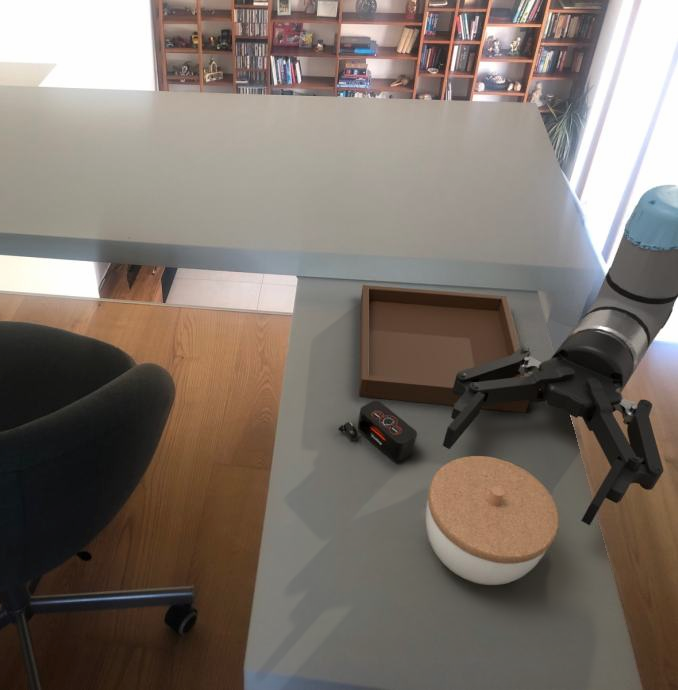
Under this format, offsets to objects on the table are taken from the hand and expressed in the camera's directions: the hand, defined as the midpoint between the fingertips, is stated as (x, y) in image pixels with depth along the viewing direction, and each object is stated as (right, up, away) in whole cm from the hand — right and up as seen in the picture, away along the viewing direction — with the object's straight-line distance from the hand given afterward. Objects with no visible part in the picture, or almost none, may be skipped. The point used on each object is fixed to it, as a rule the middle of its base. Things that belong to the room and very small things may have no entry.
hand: (515, 474), depth 64 cm
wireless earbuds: (-11, +1, +11) cm, 16 cm away
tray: (-1, +11, +22) cm, 25 cm away
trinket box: (-4, -8, +1) cm, 8 cm away
